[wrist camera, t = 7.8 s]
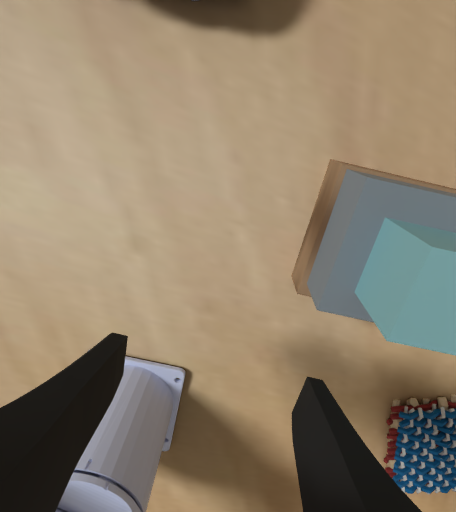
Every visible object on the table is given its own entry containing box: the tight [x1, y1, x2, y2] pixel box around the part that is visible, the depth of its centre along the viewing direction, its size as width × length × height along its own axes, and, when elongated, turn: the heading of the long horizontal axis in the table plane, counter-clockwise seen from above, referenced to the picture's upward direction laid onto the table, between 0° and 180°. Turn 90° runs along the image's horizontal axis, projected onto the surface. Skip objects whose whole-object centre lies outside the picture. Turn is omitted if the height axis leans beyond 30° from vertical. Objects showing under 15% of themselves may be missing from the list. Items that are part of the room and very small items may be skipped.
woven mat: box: [384, 394, 456, 494], centre depth 26 cm, size 10×11×2 cm
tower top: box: [307, 169, 456, 322], centre depth 17 cm, size 7×7×3 cm
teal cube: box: [355, 217, 456, 355], centre depth 13 cm, size 4×4×4 cm
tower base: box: [292, 159, 456, 297], centre depth 20 cm, size 8×8×3 cm
